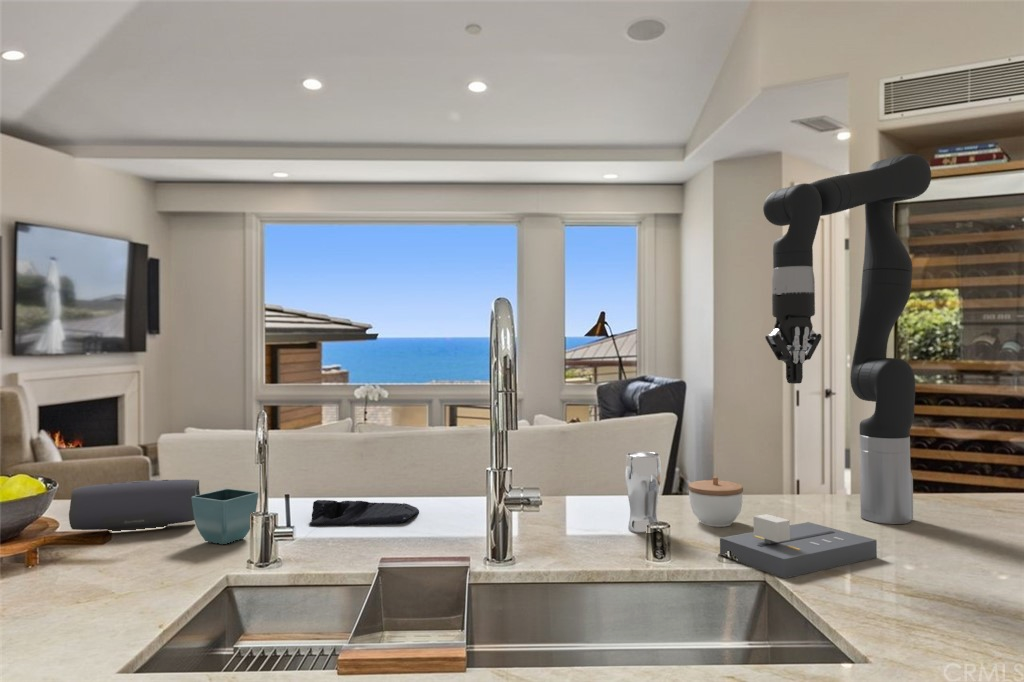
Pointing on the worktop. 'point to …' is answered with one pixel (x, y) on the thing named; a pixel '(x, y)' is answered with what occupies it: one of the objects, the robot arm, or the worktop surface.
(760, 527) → the fader knob
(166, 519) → the bluetooth speaker
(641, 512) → the beer glass
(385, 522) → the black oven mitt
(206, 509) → the flower pot
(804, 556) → the panel
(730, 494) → the lidded jar
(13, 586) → the worktop surface
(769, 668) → the worktop surface
